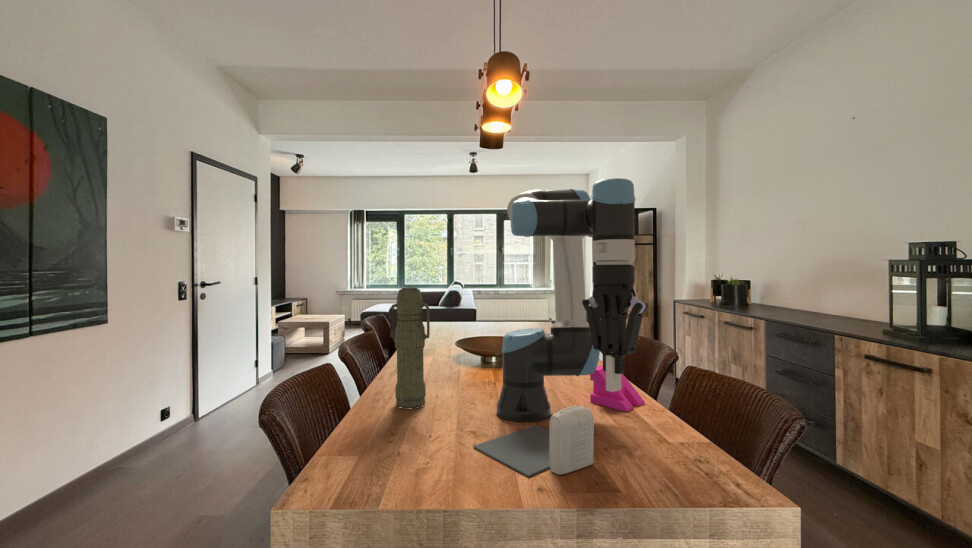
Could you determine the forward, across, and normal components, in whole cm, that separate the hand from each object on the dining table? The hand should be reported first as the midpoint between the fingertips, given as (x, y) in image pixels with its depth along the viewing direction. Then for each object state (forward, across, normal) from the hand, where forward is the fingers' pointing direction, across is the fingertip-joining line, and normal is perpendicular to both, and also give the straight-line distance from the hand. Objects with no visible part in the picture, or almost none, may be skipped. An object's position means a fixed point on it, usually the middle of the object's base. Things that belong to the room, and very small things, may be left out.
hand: (613, 389), depth 81 cm
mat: (+18, -22, 0) cm, 28 cm away
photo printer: (+19, -10, 0) cm, 21 cm away
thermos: (+18, -67, -6) cm, 70 cm away
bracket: (+18, -28, +43) cm, 55 cm away
